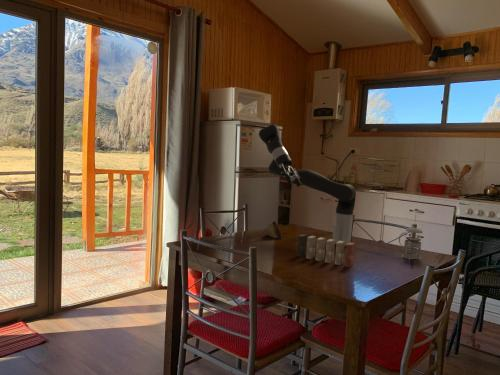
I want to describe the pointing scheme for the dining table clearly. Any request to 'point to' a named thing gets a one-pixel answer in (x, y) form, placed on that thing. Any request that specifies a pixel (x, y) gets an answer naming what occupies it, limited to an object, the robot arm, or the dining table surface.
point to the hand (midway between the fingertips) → (295, 184)
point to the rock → (274, 231)
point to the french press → (414, 243)
